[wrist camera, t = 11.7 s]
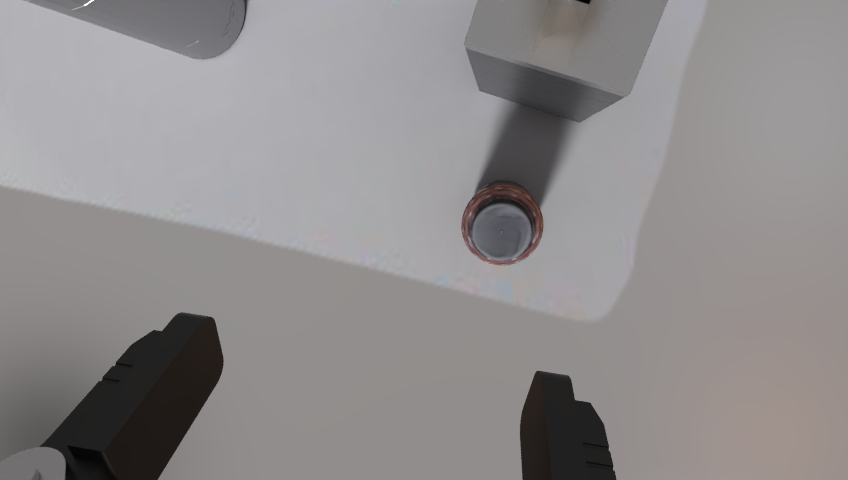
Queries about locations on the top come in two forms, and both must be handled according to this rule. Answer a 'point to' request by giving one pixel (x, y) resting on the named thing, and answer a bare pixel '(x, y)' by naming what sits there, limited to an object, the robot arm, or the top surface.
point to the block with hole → (561, 51)
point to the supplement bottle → (502, 223)
